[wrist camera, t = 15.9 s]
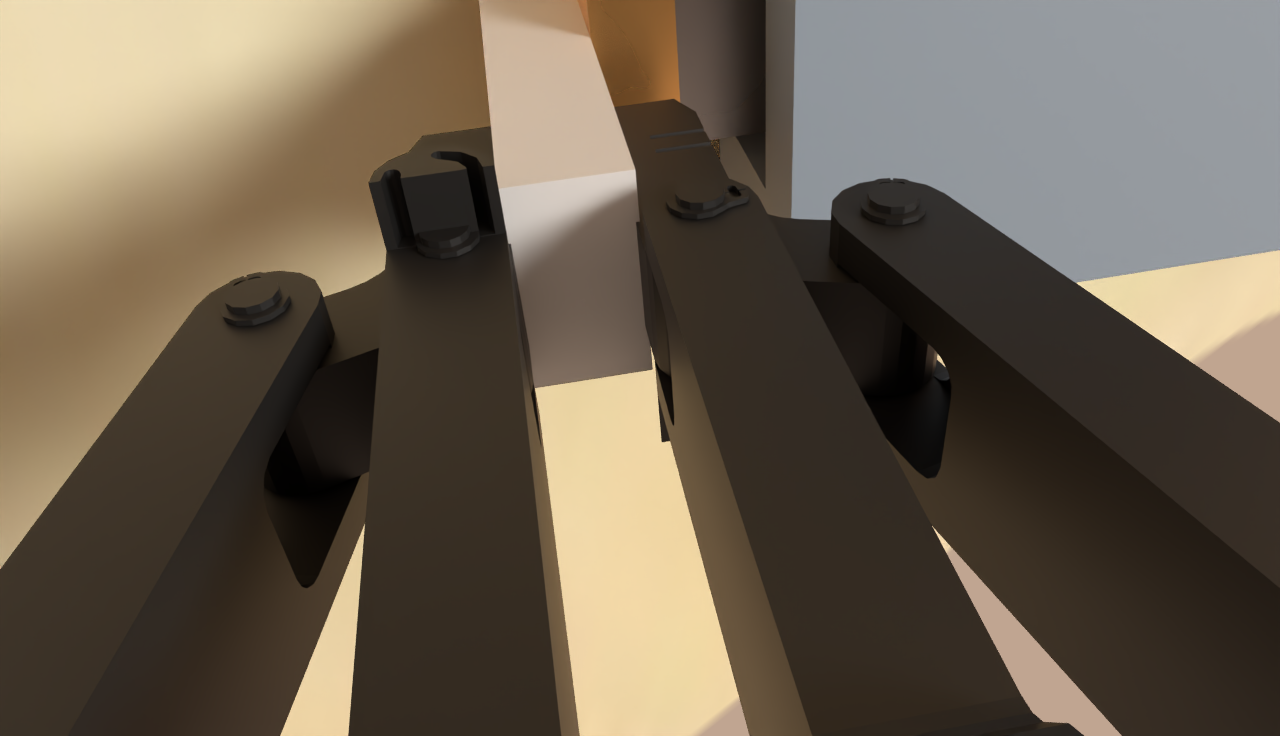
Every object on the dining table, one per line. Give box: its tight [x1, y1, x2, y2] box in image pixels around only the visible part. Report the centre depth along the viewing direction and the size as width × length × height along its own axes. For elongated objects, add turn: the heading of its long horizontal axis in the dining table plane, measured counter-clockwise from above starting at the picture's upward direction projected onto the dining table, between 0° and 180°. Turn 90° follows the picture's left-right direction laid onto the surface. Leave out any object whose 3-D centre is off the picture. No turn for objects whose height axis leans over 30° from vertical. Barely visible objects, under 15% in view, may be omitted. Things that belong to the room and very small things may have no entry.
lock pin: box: [577, 0, 766, 140], centre depth 17 cm, size 14×4×4 cm, turn 94°
